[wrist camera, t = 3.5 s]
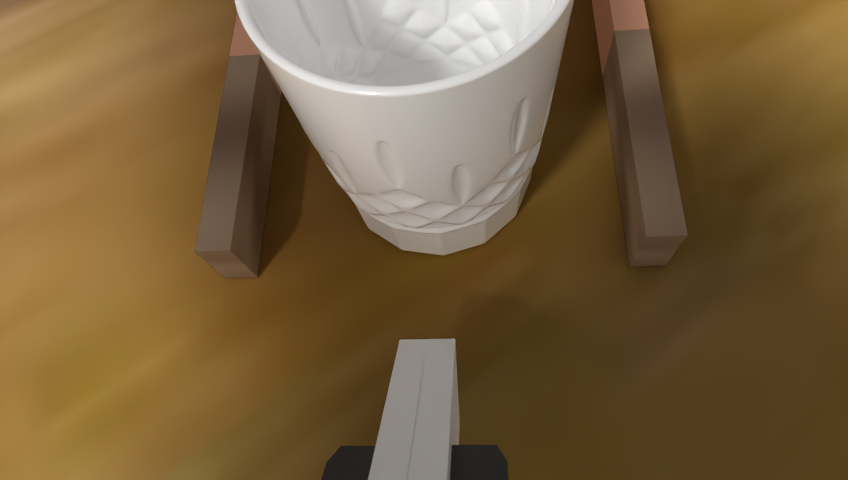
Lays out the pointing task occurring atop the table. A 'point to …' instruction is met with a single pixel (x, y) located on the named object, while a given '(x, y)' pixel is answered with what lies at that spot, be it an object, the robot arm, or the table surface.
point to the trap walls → (613, 11)
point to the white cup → (419, 104)
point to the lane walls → (256, 132)
